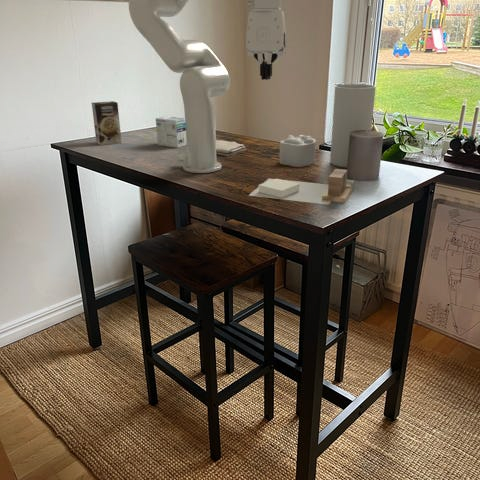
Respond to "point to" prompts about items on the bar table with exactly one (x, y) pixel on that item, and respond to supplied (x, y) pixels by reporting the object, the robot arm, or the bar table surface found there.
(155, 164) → the bar table surface
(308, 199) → the mat
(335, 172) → the light wood block
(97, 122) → the coffee box
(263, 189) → the tile
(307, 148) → the lumpy-topped squat cylinder
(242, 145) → the washcloth
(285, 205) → the bar table surface
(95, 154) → the bar table surface
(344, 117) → the cylinder vase
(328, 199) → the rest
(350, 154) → the pillar candle
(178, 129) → the light bulb box
